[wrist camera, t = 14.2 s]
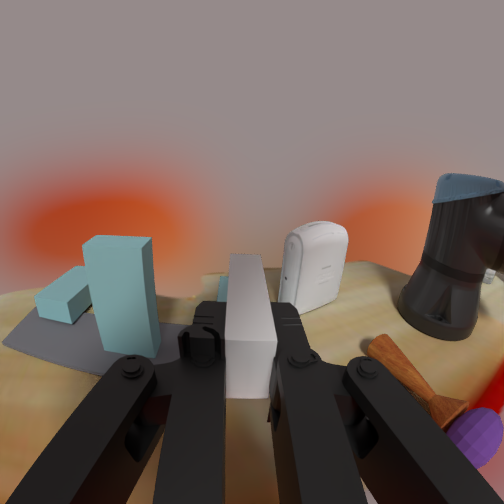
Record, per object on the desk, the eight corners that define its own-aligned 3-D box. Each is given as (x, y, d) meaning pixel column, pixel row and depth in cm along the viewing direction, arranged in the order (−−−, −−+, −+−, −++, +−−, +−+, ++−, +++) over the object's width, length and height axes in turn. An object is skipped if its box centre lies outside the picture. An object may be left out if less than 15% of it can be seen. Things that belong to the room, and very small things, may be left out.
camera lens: (474, 272, 56) (481, 246, 53) (491, 279, 52) (499, 253, 49) (473, 279, 52) (482, 250, 49) (492, 286, 48) (501, 258, 45)
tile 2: (161, 339, 28) (152, 236, 24) (155, 358, 25) (141, 248, 21) (114, 333, 28) (97, 234, 24) (104, 350, 25) (82, 245, 21)
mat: (289, 331, 32) (290, 329, 32) (305, 391, 23) (306, 388, 23) (39, 306, 30) (38, 303, 30) (2, 344, 21) (1, 342, 20)
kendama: (404, 324, 28) (521, 421, 9) (384, 364, 29) (481, 468, 10) (370, 323, 26) (501, 446, 8) (349, 367, 28) (451, 495, 9)
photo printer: (291, 321, 35) (306, 229, 31) (272, 306, 38) (282, 220, 34) (340, 301, 41) (356, 224, 36) (320, 290, 44) (333, 216, 40)
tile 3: (72, 325, 27) (108, 287, 39) (66, 302, 26) (106, 268, 38) (39, 317, 27) (79, 283, 38) (34, 296, 26) (76, 265, 37)
